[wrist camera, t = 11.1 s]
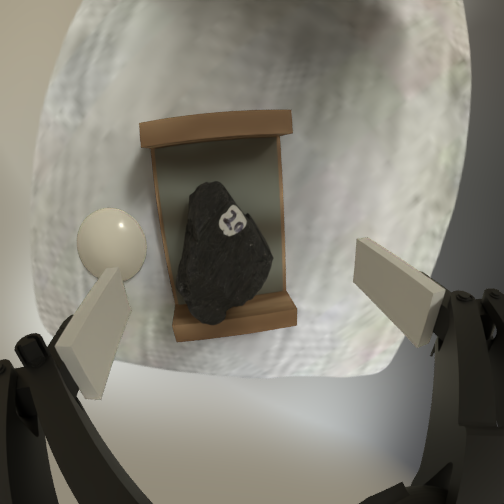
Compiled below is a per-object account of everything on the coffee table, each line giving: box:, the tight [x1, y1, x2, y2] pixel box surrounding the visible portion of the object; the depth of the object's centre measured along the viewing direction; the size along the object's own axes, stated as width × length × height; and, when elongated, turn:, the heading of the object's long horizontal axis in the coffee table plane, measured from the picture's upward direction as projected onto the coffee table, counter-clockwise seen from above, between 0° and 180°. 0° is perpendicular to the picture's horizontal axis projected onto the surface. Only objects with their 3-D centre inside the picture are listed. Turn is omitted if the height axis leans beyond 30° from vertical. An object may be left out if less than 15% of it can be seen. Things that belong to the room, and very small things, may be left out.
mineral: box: [176, 181, 274, 325], centre depth 24 cm, size 10×9×6 cm
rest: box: [139, 110, 297, 342], centre depth 25 cm, size 20×12×5 cm, turn 4°
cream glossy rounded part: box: [77, 208, 147, 281], centre depth 26 cm, size 8×8×1 cm
